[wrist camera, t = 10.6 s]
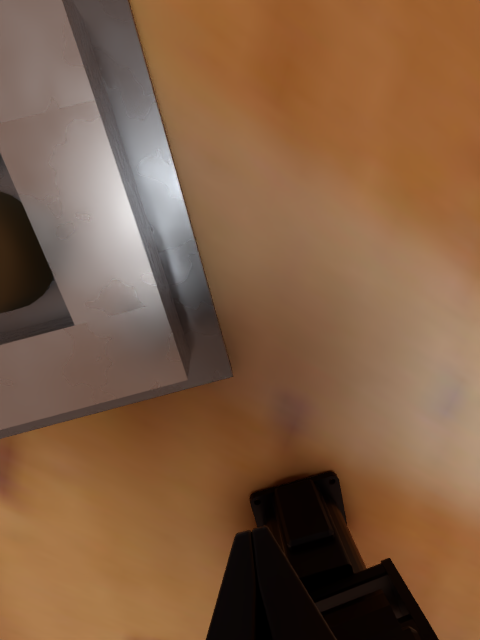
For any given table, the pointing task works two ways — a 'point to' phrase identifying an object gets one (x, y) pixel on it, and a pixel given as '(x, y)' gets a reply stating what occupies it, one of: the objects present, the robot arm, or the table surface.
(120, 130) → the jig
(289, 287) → the table surface
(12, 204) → the cork
